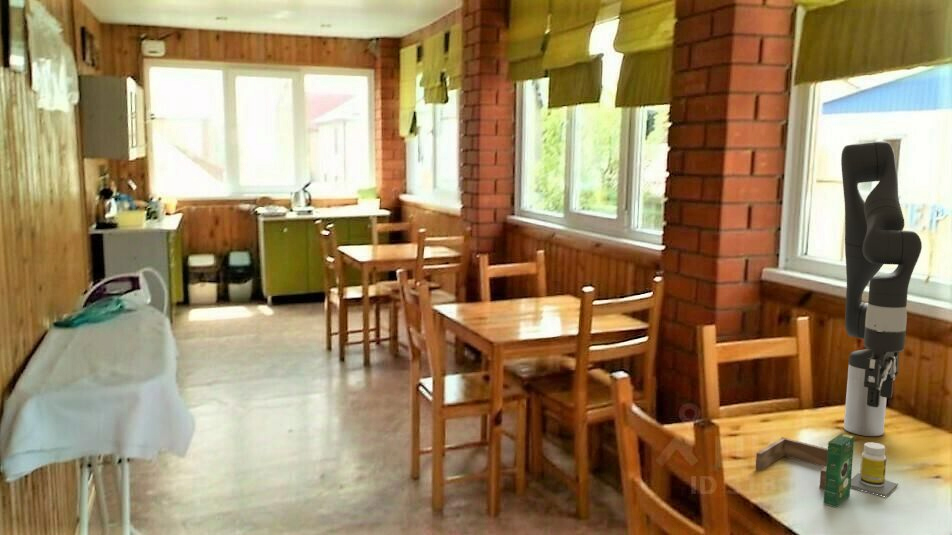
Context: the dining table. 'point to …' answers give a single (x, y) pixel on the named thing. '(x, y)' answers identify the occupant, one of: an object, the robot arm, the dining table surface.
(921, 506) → the dining table surface
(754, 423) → the dining table surface
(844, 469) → the coffee box
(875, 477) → the supplement bottle
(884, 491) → the grey mat
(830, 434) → the dining table surface
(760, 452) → the open box
